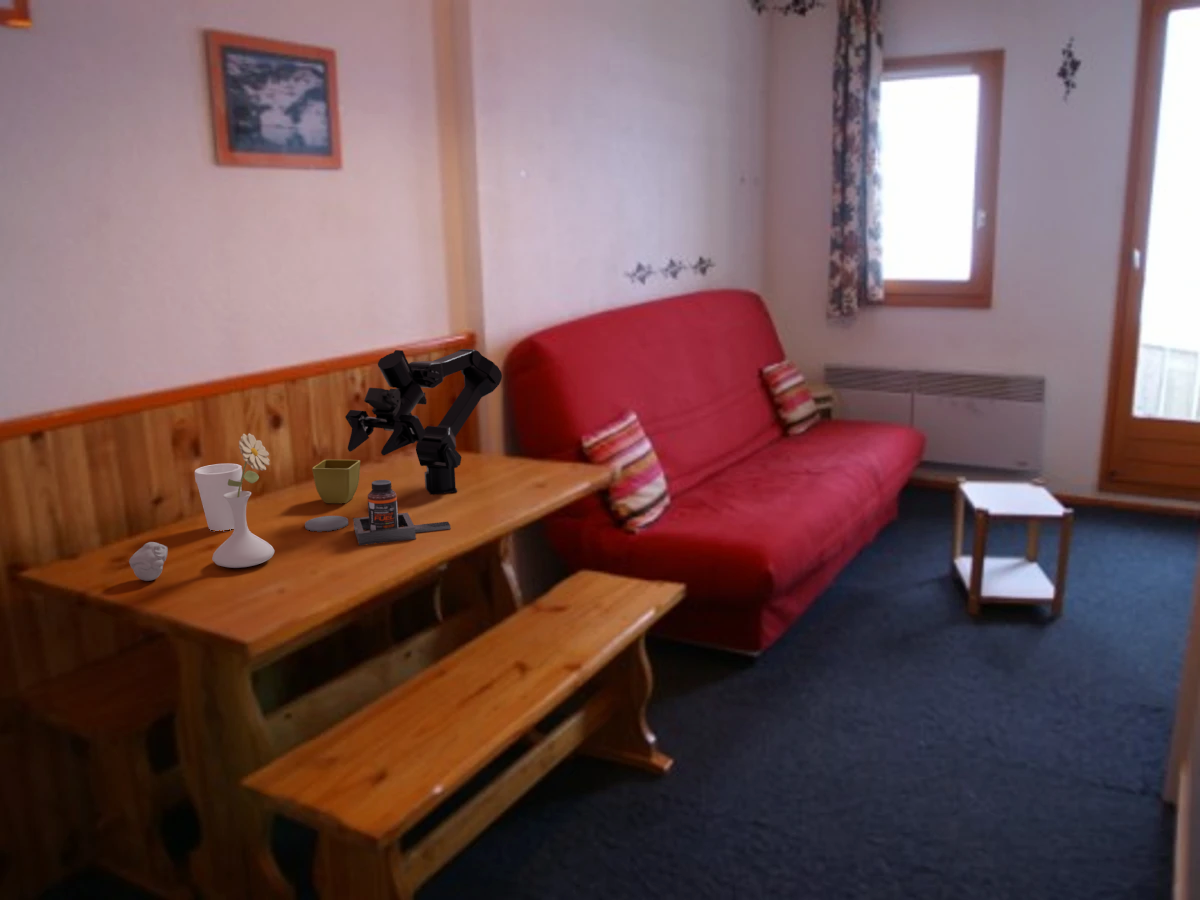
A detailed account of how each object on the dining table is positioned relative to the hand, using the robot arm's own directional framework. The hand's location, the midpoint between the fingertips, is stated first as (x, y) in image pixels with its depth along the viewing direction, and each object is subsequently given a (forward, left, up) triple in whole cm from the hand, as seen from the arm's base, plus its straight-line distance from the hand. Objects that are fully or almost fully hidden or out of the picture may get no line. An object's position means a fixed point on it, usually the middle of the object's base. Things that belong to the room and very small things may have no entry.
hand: (365, 452), depth 223 cm
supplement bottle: (-2, +12, -15) cm, 20 cm away
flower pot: (+5, -18, -15) cm, 24 cm away
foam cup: (+30, -6, -15) cm, 35 cm away
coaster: (+9, +1, -15) cm, 18 cm away
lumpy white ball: (+42, +24, -15) cm, 51 cm away
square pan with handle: (-6, +12, -15) cm, 20 cm away
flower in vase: (+25, +20, -15) cm, 36 cm away
